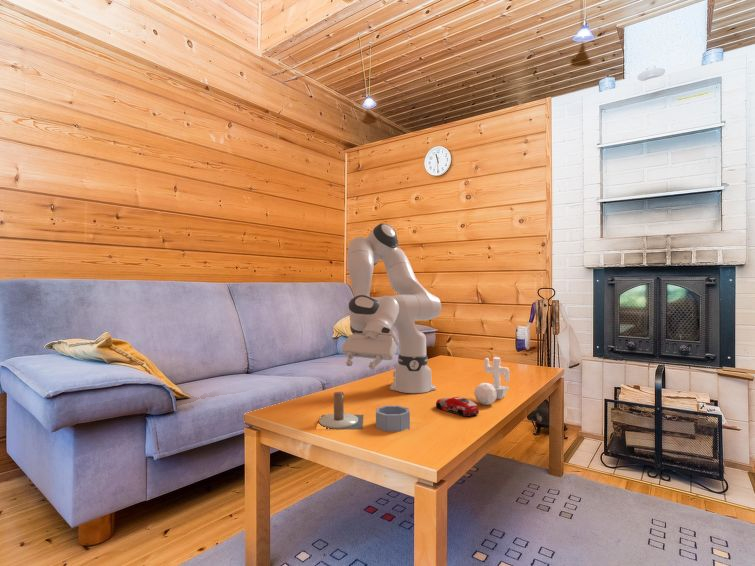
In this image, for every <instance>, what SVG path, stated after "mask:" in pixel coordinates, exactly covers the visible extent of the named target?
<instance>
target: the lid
mask: <svg viewBox="0 0 755 566" xmlns="http://www.w3.org/2000/svg"><path fill="white" fill-rule="evenodd" d="M344 396H345V395H344V392H342V391H336V392H333V413H329V414H324V415H325V416H322V417H321V418H320V417H319V418H320V419H319V418H318V420H319V424H320V425H321V426H323V427H326V428H332V429H336V430H343V429H342V428H349V427H352V426H355V425H356V424H357V423H358V417H357V416H355V415H356V414H352V413H345V412H344V411H345V408H344V406H345V405H344V401H345V400H344Z"/></svg>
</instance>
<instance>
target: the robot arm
mask: <svg viewBox="0 0 755 566" xmlns="http://www.w3.org/2000/svg"><path fill="white" fill-rule="evenodd" d="M398 246H399V240H398V236H397V232H396V230H395V229H394V228H393V227H392V225H390V224H388V223H382V222H381V223H379V224H377V225H376V226H375V227H374V228H373V230H372V231H371V232H370V233H368V235H367V236H366V237H363V236H356V237H355V238H353V239H352V240H350V242H349V245H348V248H347V255H346V266H347V271H348V276H349V280H350V282H351V283H350V284H351V286H352V291H353V295H354V296H353V298H351V299H350V300H349V302H348V312H349V315H348V316H349V322H350V324H349V329H350V332H351V333H352V334H350V335H349V336H348V337H347V339H346V340H345V341H344V343H343V344H342V346H341V349H340V350H341V352H342V354H343V355H344V356H346V357H347V360H346V361H345V364H346V366H348V367H352V365H353V364H354V362H353V360H352V359H354V358H365V359H373V361H370V363H369V364H368V367H369V369H371V370H375V369H376V368H377V366H378V365H379V364H380V363H381V362H382V361H391V360H393V359H394V358H395V355H396V353H397V350H398V347H399V352H398V355H397V356H398V357H397V362H398V363H397V364H398V365H397V366H396V367H395V368H394V370H393V375H392V376H393V377H394V378H393V382H392V383H391V385H390V386H389V390H390V391H396V392H400V393H406V394H422V393H428V392H431V391H434V390H436V389H437V387H436V385H434V384H433V383H432V382H433V381H432V380H433V379H432V369H431V368H430V367H429V366H428V360H429V358H428V355H427V337H426V335H425V333H424V332H422V331H421V330H419V329H417V326H416V322H418V321H419V322H421V321H430V320H434V319H437V318H438V317H439V316H440V314H441V312H442V303H441V300H440V298H439V297H438V296H436V295H434V294H432V293H431V292H430V291H428V290H427V289H426V288H425V287H424V286H423V285H422V284H421V283H420V282H419V280H418V279H417V276H416V274H415V273H414V270H413V267H412V265H411V263H410V260H409V258H408V257H407V255H406V254H405V252H404V250H402V248H400V247H398ZM379 261H382V262H383V265H384V268H385V272H386V275H387V279H388V280H389V281H388V282H389V284H390V287H391V289H392V290H393V292H395V293H396V294H395V295H381V296H379V297H377V296H376V297H375V296H374V297H373V296H370V295H371V288H372V279H373V275H374V267H375V265H377V264H378V263H379ZM393 326H394V328H395V330H396V332H397V334H396V332H395V331H394V329H392V327H393ZM397 335H398V336H397ZM398 345H399V346H398Z"/></svg>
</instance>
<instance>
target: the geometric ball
mask: <svg viewBox="0 0 755 566" xmlns="http://www.w3.org/2000/svg"><path fill="white" fill-rule="evenodd" d="M491 384H492V383H489V382H481V383H480V384H478V385H477V386H476V387H475V389H474V393H473V394H474V397H475V400H476V402H478V403H479V404H480V405H483V406H487V405H488V406H490V405H491V404H493V403H494V402H495V401H496V400H497V398H496V397H497V393H496V390H495V388H494V387H493V386H492V385H491Z"/></svg>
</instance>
